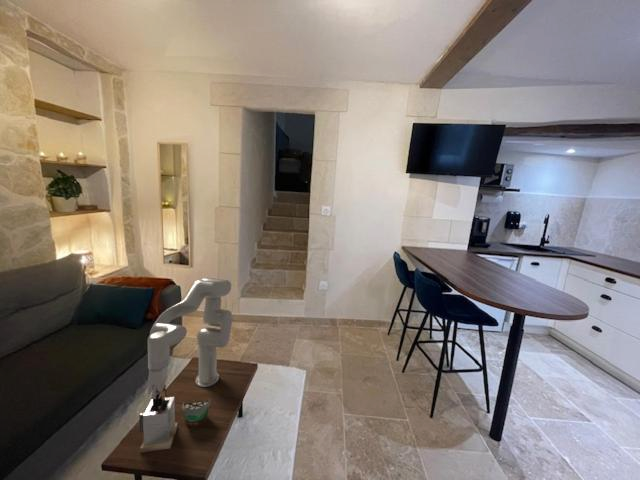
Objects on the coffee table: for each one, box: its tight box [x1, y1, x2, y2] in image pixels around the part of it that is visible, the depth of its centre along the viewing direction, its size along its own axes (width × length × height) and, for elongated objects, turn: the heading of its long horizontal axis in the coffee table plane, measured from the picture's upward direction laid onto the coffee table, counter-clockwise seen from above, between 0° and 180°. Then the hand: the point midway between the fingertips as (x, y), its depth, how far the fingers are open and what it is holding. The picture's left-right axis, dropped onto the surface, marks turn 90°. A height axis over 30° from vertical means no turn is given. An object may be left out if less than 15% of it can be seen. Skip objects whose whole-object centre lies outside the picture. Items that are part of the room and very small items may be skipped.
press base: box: [139, 421, 179, 454], centre depth 113 cm, size 11×11×2 cm
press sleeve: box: [139, 396, 176, 446], centre depth 111 cm, size 9×12×14 cm
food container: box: [181, 398, 211, 429], centre depth 121 cm, size 12×6×10 cm, turn 105°
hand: (159, 401), depth 110 cm, fingers closed on plunger, 4 cm apart
